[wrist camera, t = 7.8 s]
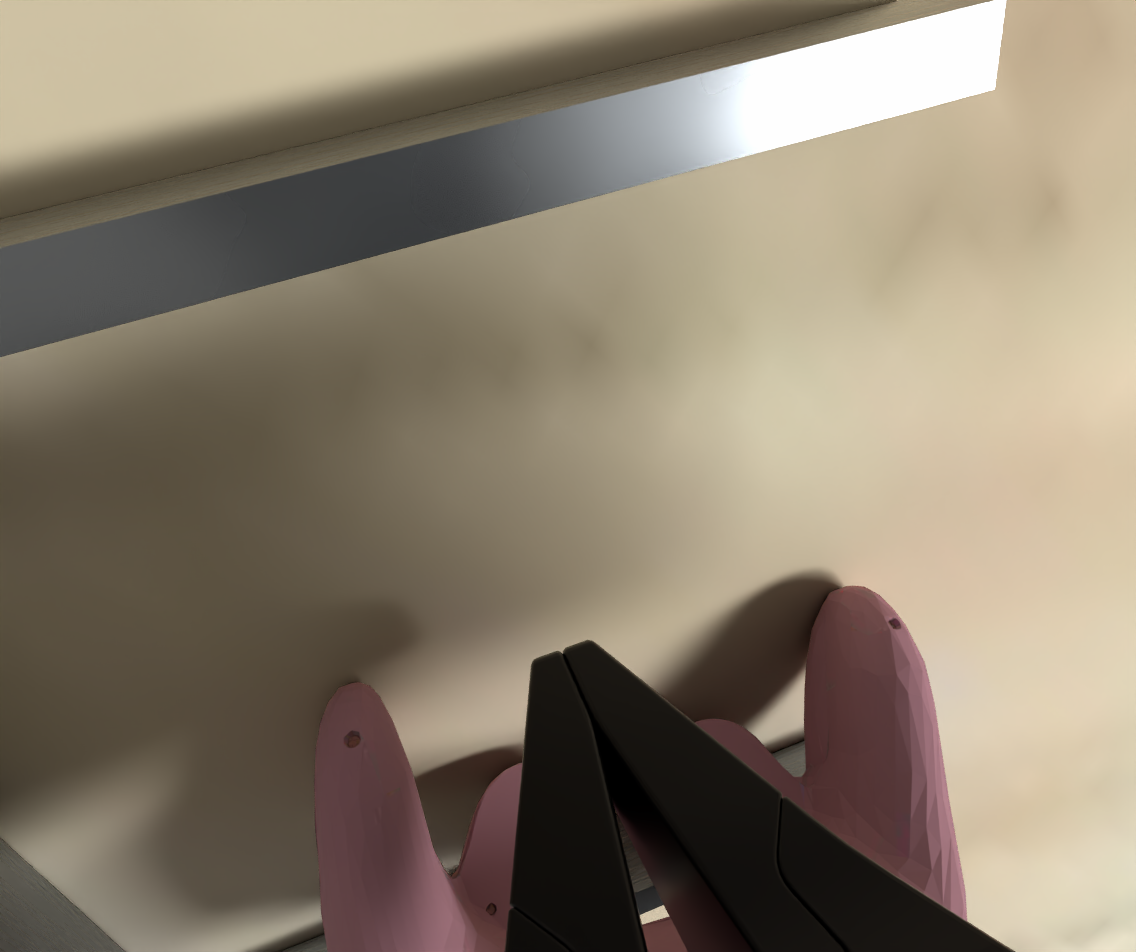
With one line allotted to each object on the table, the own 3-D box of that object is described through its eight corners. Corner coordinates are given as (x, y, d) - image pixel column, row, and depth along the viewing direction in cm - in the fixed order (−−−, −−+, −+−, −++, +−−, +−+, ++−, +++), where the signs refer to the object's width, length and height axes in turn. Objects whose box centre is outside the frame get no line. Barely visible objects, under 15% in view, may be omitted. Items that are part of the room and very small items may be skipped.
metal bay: (856, 742, 16) (902, 802, 15) (148, 1031, 14) (134, 1129, 13) (904, -1, 8) (1005, -2, 7) (-650, 377, 6) (-873, 465, 5)
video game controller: (323, 752, 14) (369, 1266, 10) (287, 672, 10) (341, 1436, 7) (794, 650, 17) (954, 1034, 13) (905, 556, 13) (1171, 1061, 9)
